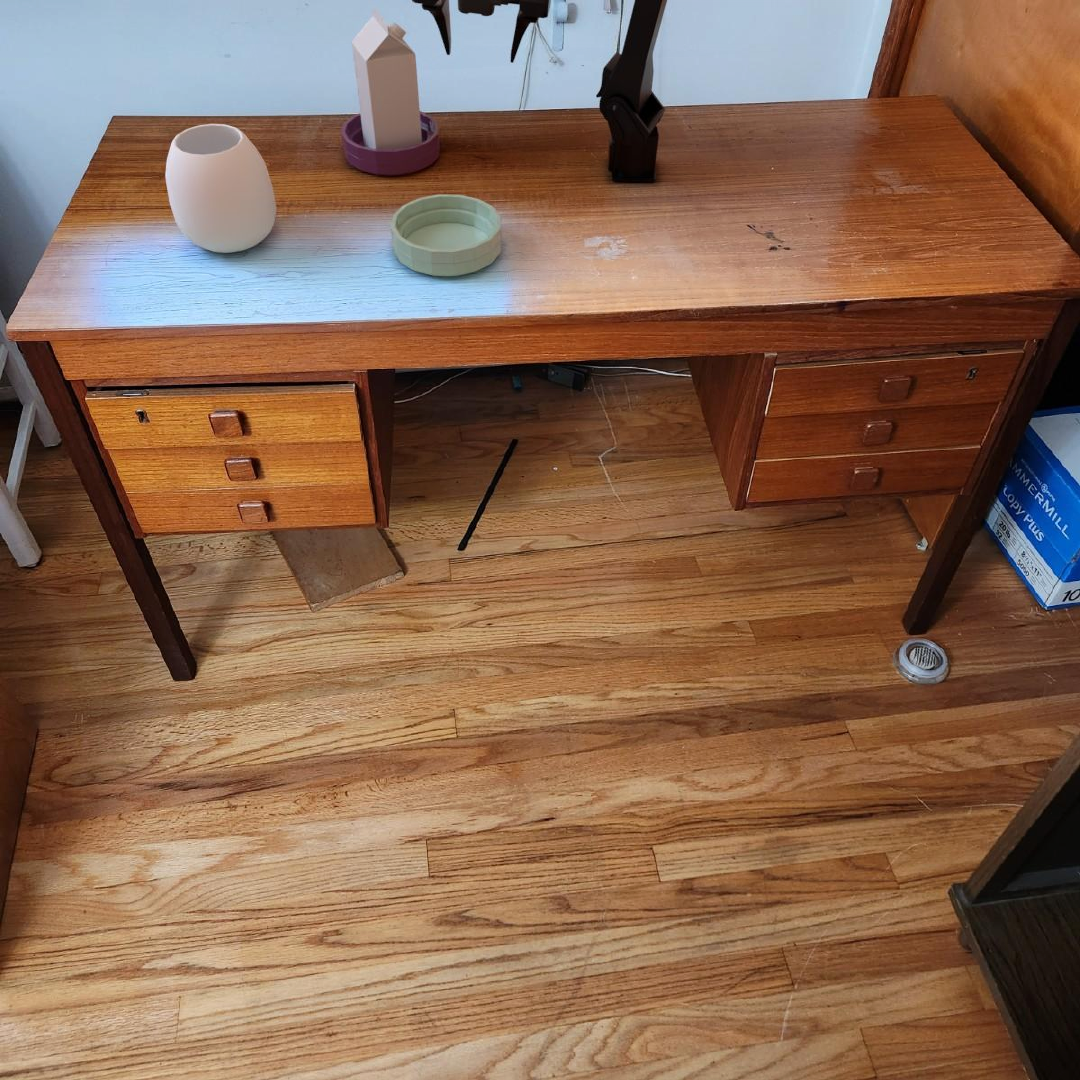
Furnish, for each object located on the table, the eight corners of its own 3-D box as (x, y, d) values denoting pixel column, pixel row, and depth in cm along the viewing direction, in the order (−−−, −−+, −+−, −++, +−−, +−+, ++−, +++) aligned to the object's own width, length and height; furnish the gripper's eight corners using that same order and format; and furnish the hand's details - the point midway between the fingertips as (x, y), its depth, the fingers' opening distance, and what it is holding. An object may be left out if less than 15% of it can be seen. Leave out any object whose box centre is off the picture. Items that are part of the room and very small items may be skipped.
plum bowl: (443, 133, 149) (441, 108, 147) (436, 178, 140) (434, 152, 137) (351, 132, 149) (348, 106, 146) (339, 176, 140) (335, 150, 137)
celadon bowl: (502, 222, 132) (502, 195, 129) (499, 280, 123) (499, 252, 120) (399, 220, 132) (397, 193, 129) (388, 278, 123) (385, 250, 120)
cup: (254, 271, 123) (231, 171, 113) (162, 254, 125) (131, 155, 115) (298, 220, 132) (281, 123, 122) (211, 205, 134) (187, 109, 124)
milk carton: (377, 166, 141) (362, 29, 127) (363, 145, 145) (347, 10, 131) (423, 158, 143) (413, 22, 129) (408, 137, 147) (397, 4, 133)
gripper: (402, -55, 121) (405, 72, 133) (549, -37, 121) (539, 88, 133) (418, -81, 129) (419, 42, 140) (556, -65, 128) (546, 57, 140)
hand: (480, 57), depth 138 cm, fingers open, 9 cm apart
